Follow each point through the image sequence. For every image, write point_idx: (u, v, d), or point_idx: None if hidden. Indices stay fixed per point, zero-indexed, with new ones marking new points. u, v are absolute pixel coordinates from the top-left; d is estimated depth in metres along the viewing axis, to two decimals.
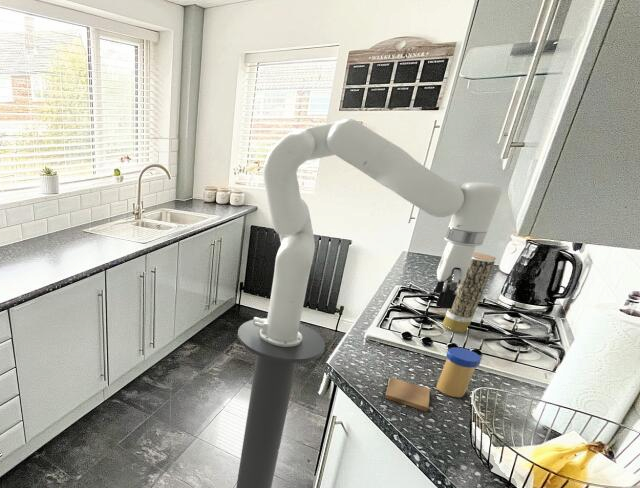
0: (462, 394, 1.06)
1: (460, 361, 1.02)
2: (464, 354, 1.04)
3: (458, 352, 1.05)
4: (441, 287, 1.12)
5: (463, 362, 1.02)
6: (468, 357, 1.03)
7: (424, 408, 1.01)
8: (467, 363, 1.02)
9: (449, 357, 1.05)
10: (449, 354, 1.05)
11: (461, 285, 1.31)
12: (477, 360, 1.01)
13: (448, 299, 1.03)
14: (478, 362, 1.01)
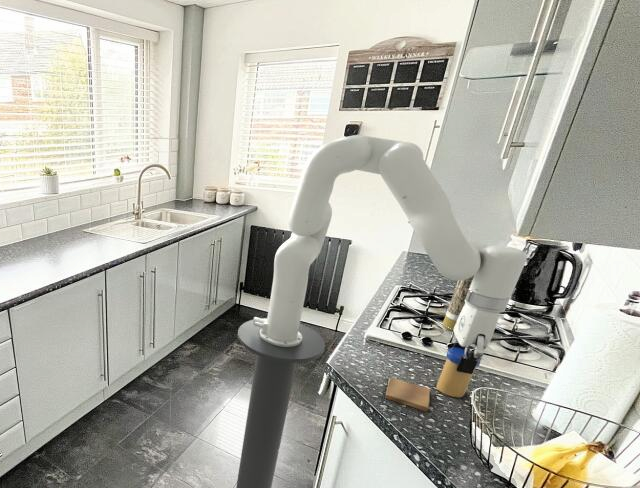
0: (462, 394, 1.06)
1: None
2: None
3: (458, 352, 1.05)
4: None
5: None
6: None
7: (424, 408, 1.01)
8: None
9: (449, 357, 1.05)
10: (449, 354, 1.05)
11: (461, 285, 1.31)
12: None
13: (470, 365, 1.00)
14: (478, 362, 1.01)
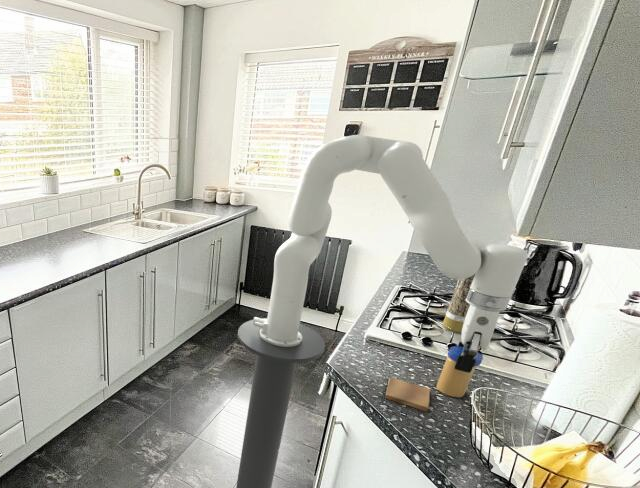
0: (462, 394, 1.06)
1: None
2: None
3: None
4: None
5: None
6: None
7: (424, 408, 1.01)
8: None
9: None
10: None
11: (461, 285, 1.31)
12: (455, 346, 1.06)
13: None
14: None
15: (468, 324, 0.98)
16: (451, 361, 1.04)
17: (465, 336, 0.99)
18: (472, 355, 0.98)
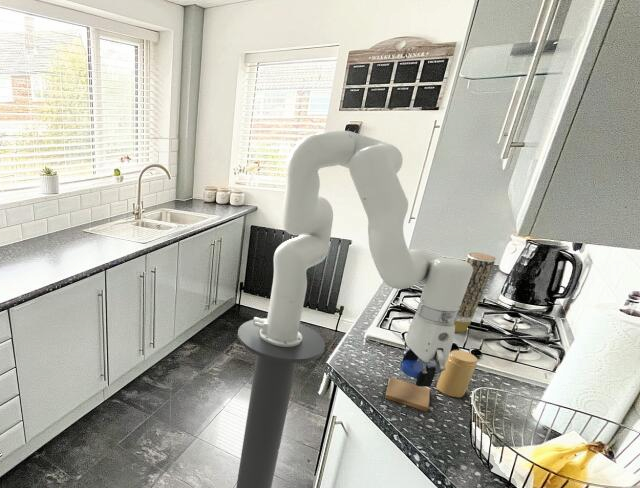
0: (462, 394, 1.06)
1: None
2: (418, 366, 1.03)
3: None
4: None
5: None
6: (413, 363, 1.04)
7: (424, 408, 1.01)
8: None
9: None
10: None
11: None
12: (404, 360, 1.05)
13: None
14: None
15: (429, 342, 0.95)
16: (451, 361, 1.04)
17: (428, 354, 0.96)
18: (438, 372, 0.96)
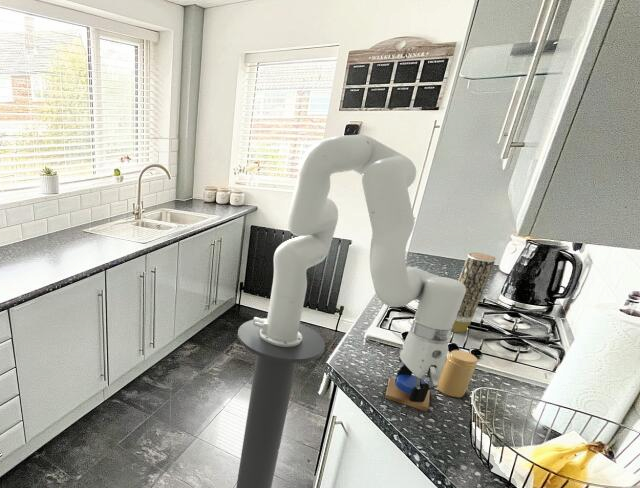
0: (462, 394, 1.06)
1: None
2: (412, 381, 1.05)
3: None
4: None
5: None
6: (407, 378, 1.06)
7: (424, 408, 1.01)
8: None
9: None
10: None
11: None
12: (398, 375, 1.07)
13: None
14: (397, 377, 1.07)
15: (423, 359, 0.97)
16: (451, 361, 1.04)
17: (422, 371, 0.98)
18: (431, 388, 0.98)
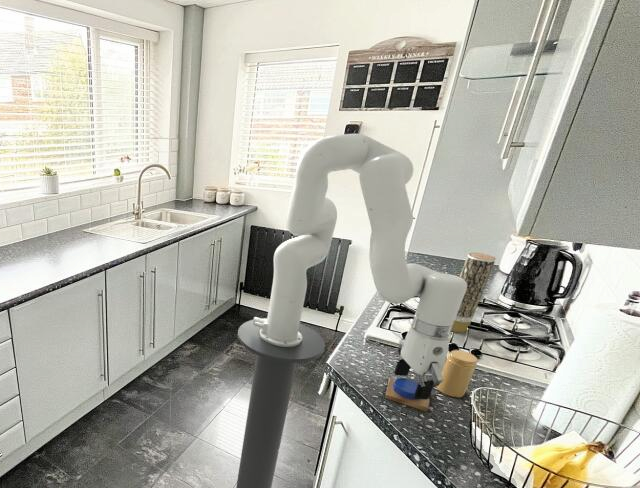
0: (462, 394, 1.06)
1: None
2: (409, 385, 1.06)
3: (415, 386, 1.05)
4: None
5: None
6: (404, 382, 1.07)
7: (424, 408, 1.01)
8: None
9: None
10: None
11: None
12: (395, 380, 1.08)
13: None
14: None
15: (424, 355, 0.97)
16: (451, 361, 1.04)
17: (422, 367, 0.98)
18: (436, 385, 0.96)
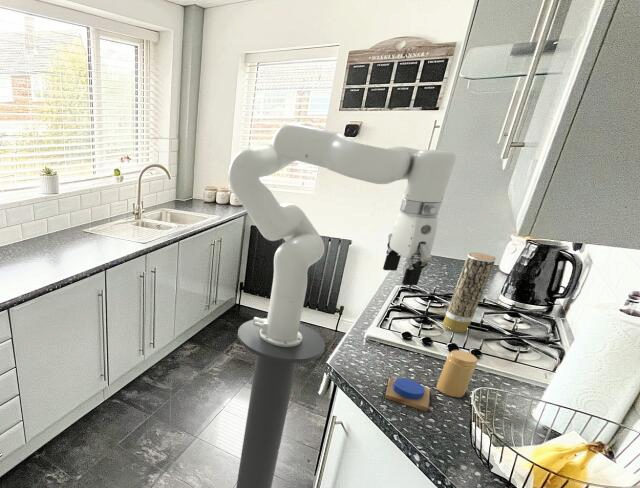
0: (462, 394, 1.06)
1: None
2: (409, 385, 1.06)
3: (415, 386, 1.05)
4: None
5: None
6: (404, 382, 1.07)
7: (424, 408, 1.01)
8: None
9: None
10: None
11: (461, 285, 1.31)
12: (395, 380, 1.08)
13: None
14: None
15: (412, 236, 0.95)
16: (451, 361, 1.04)
17: (411, 249, 0.96)
18: (425, 265, 0.94)
